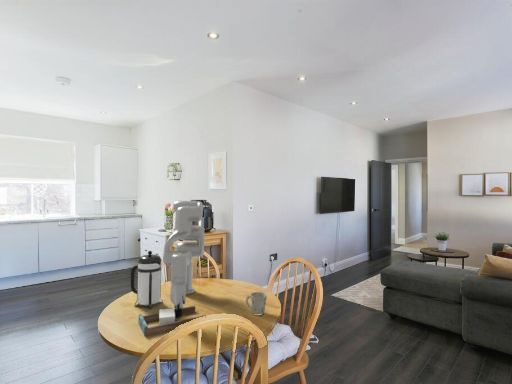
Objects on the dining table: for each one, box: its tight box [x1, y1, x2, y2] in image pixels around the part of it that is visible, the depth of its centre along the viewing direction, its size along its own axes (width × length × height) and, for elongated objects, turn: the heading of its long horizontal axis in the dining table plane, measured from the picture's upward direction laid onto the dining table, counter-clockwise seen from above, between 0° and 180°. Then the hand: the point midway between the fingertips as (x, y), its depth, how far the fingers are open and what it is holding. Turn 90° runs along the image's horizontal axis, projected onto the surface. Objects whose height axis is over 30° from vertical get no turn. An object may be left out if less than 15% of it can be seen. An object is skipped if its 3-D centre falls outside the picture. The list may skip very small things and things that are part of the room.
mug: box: [245, 291, 268, 314], centre depth 151 cm, size 8×13×10 cm, turn 58°
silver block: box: [158, 307, 176, 325], centre depth 138 cm, size 10×7×5 cm
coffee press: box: [130, 250, 163, 310], centre depth 161 cm, size 17×16×30 cm
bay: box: [138, 305, 206, 337], centre depth 138 cm, size 15×28×4 cm, turn 122°
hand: (178, 316), depth 140 cm, fingers closed
